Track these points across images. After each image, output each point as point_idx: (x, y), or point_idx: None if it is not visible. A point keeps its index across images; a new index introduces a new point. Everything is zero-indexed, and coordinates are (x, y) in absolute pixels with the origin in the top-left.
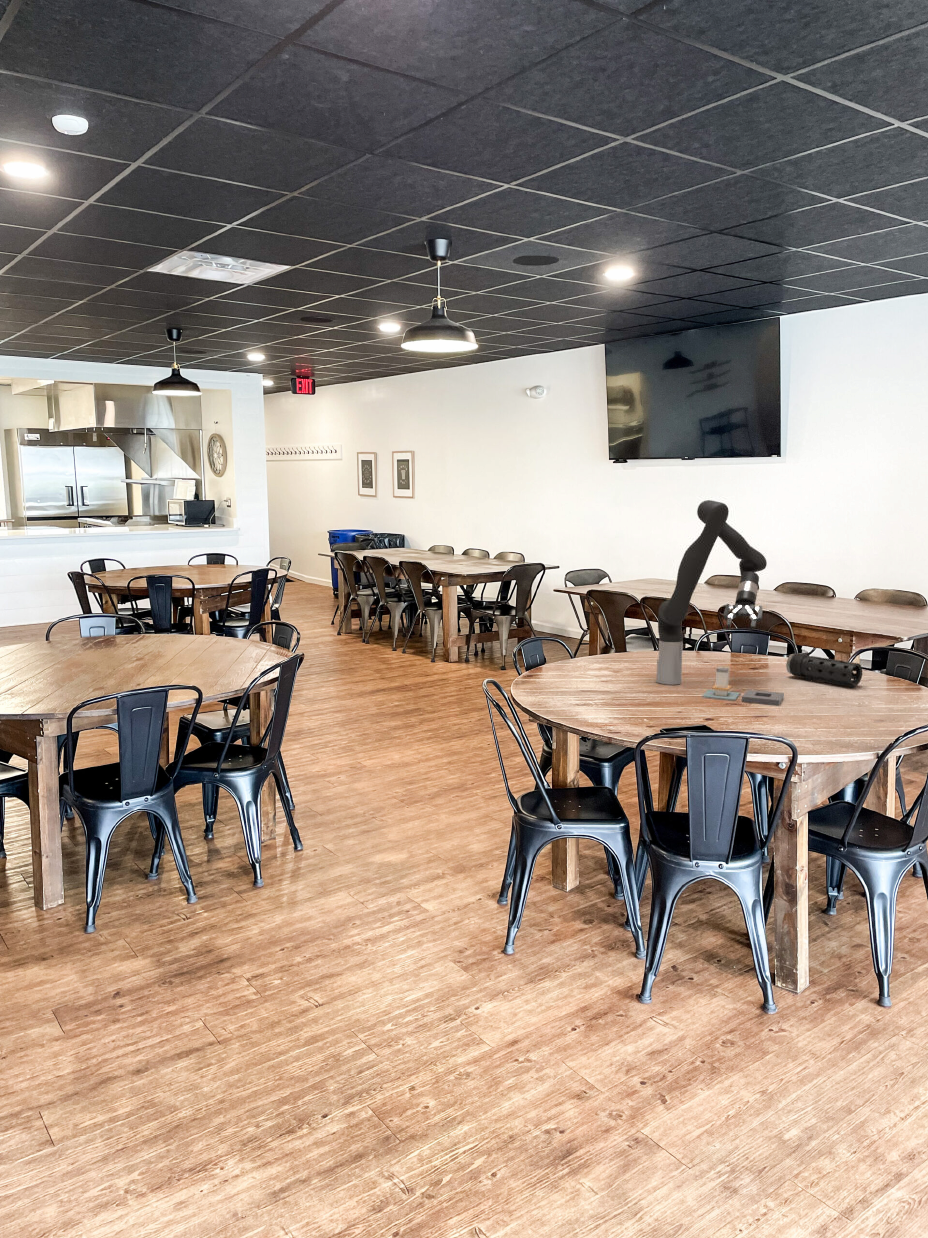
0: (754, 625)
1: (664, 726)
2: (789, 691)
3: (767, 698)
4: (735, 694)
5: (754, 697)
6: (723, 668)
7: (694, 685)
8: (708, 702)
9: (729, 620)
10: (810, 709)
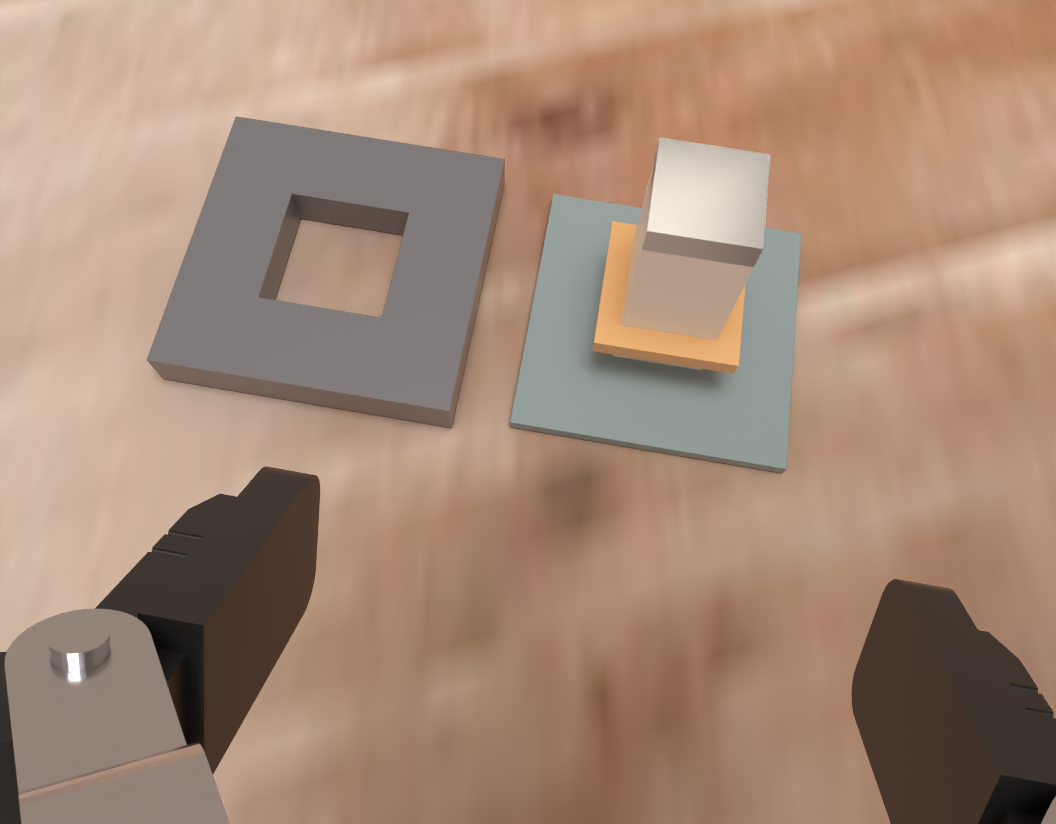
0: (200, 506)
1: None
2: None
3: (317, 149)
4: (551, 344)
5: (412, 155)
6: (701, 184)
7: None
8: (732, 123)
9: (993, 686)
10: (45, 105)
